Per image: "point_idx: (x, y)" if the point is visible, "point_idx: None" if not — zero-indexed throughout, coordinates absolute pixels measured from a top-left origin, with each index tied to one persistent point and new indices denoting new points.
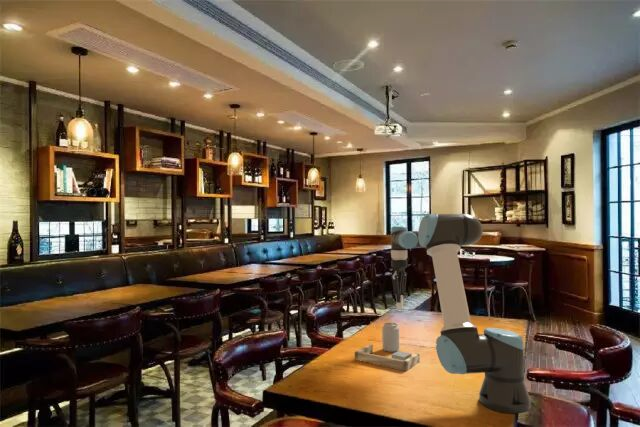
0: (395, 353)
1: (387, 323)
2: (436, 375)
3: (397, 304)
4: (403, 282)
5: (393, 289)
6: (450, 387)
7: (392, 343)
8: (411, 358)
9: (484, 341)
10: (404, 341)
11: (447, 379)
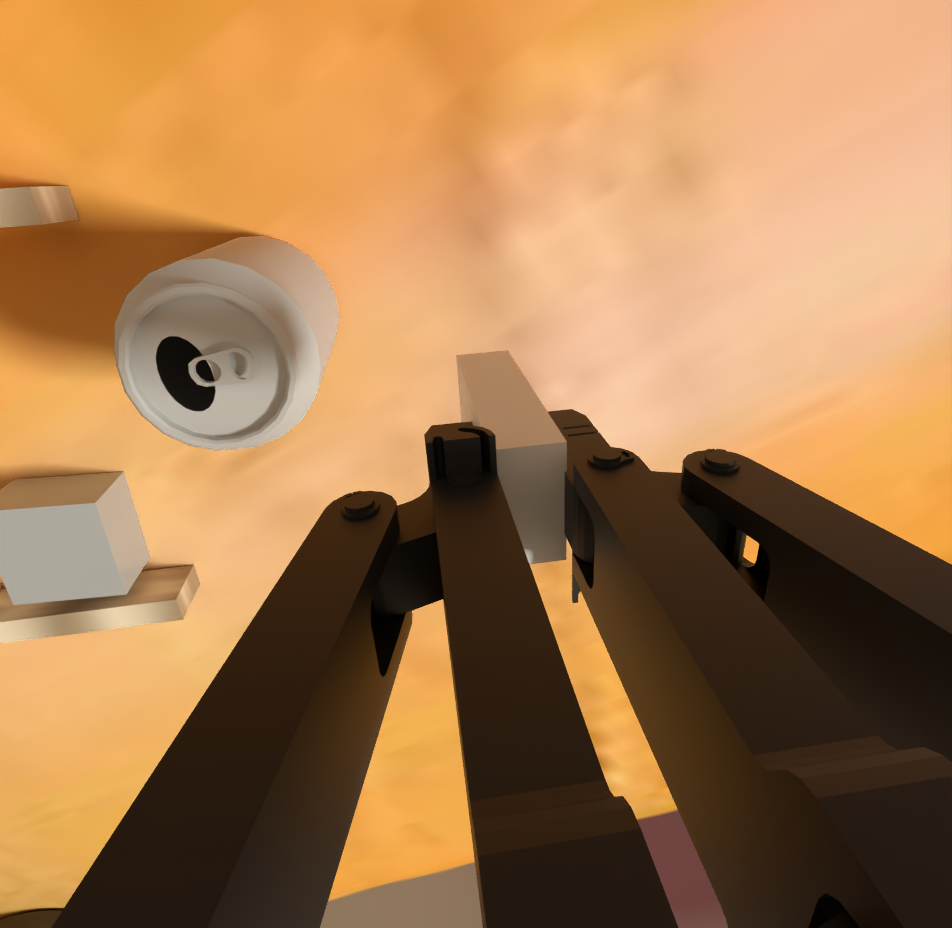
0: (19, 521)
1: (236, 301)
2: (90, 728)
3: (464, 402)
4: (902, 737)
5: (274, 593)
6: (13, 820)
7: (202, 376)
8: (48, 634)
9: None
10: (566, 265)
11: (90, 776)
